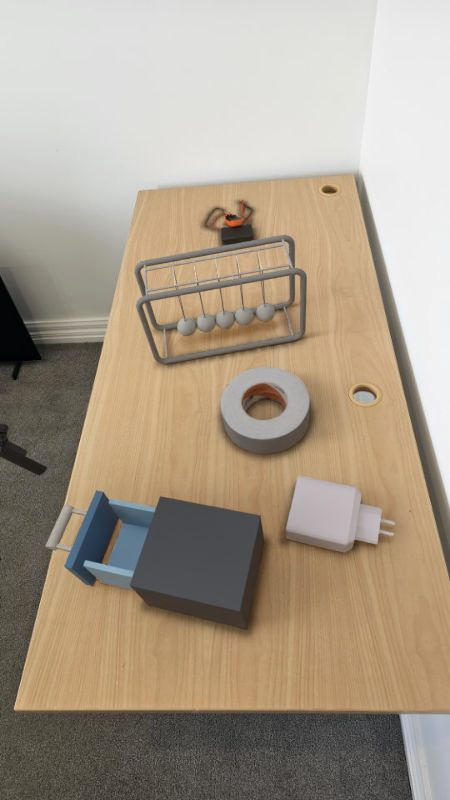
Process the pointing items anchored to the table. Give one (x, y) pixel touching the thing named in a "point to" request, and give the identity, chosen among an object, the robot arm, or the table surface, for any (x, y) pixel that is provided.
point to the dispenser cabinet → (200, 561)
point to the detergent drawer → (104, 540)
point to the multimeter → (235, 228)
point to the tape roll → (273, 431)
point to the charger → (332, 516)
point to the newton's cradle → (224, 317)
